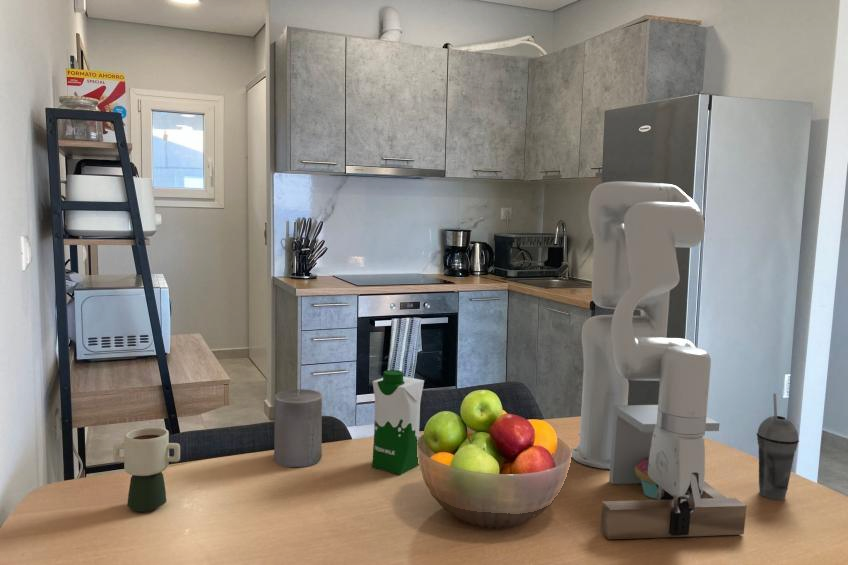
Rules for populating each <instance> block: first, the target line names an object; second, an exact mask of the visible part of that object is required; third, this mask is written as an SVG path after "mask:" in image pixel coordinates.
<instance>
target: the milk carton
mask: <svg viewBox="0 0 848 565" xmlns="http://www.w3.org/2000/svg"><path fill="white" fill-rule="evenodd" d="M424 383H425V380H423V379H419V378H413V377H407V376H404V372H403V371H401V370H396V369H394V370H393V369H391V370H390V369H387V370H384V371H383V373H382V377H381V378H378V379H375V380H373V381H372V387H373V388H372V389H373V395H374V417H373V418H374V420H373V422H374V425H373V444H372V445H373V446H372V451H373V452H372V460H371V461H372V463H371V467H372V468H375V469H377V470H381V471H385V472H389V473H391V474H395V475H399V476H401V475H403V474H404V473H406V472H408V471H410V470H412V469H414V468H416V467H418V466H420V463H419V464H418V457H417V441H418V439H420V417H421V416H420V415H421V413H420V412H421V400H422V395H423V389H424V385H425V384H424Z"/></svg>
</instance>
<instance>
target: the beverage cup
mask: <svg viewBox="0 0 848 565" xmlns="http://www.w3.org/2000/svg"><path fill="white" fill-rule="evenodd" d="M772 396H773V415H772V416H769V417H767V418H765V419H764V420H762V422H761V423H760V424H759V427H758V429H757V432H756V436H757V437H756V438H757V446H758V488H759V491H758V492H759V493H758V494H760V495H761V496H762V497H763V498H767V499H769V500H774V501H782V500H785V499H786V495H787V491H788V487H789V485H790V484H789V483H790V477H791V473H792V466H793V462H794V456H795V452H796V450H797V447H798V443H800V440H799V432H798V429H797V427H796V425H795V424H794V423H793V422H792V421H791V420H789V418H787V417H784V416H780V415H778V408H777V406H778V405H777V403H778V402H777V393H773V395H772Z"/></svg>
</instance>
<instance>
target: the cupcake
mask: <svg viewBox="0 0 848 565" xmlns="http://www.w3.org/2000/svg"><path fill="white" fill-rule="evenodd" d="M648 464H649V457H646V458H644V459H642V460H640V461H638V463H636V466H635V473H636V475H637V477H639V478H640V479H641V482H642V483H641V486H642V489H643V493H644V495H645V496H647V497H649V498H652V499H654V500H659V499H658V498H657V491H658V488H657V485H656V483H655V482H654V481H653V480H652V479H651V478H650V477H649V475H648Z"/></svg>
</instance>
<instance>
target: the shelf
mask: <svg viewBox="0 0 848 565" xmlns="http://www.w3.org/2000/svg"><path fill="white" fill-rule="evenodd" d="M657 412H658V404H633V405H631V404H630V405H629V404H627V405H614V418H613V433H612V448H611V463H610V469H609V481H608V482H609V483H610V484H611V485H627V484H628V485H629V484H630V485H631V484H632V483H634V484H642V482H641V479H640V478H639V477H637V475H636V473H635V466H636V463H638V461H640V460H642V459H644V458H646V457H649V455H650V448H651V442H652V437H653V432H654V429H655V426H656V423H657ZM719 431H720V422H718V421H717V420H715V419H712V418H710V417H708V416H707V415H706V427H705V432H719Z"/></svg>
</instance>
